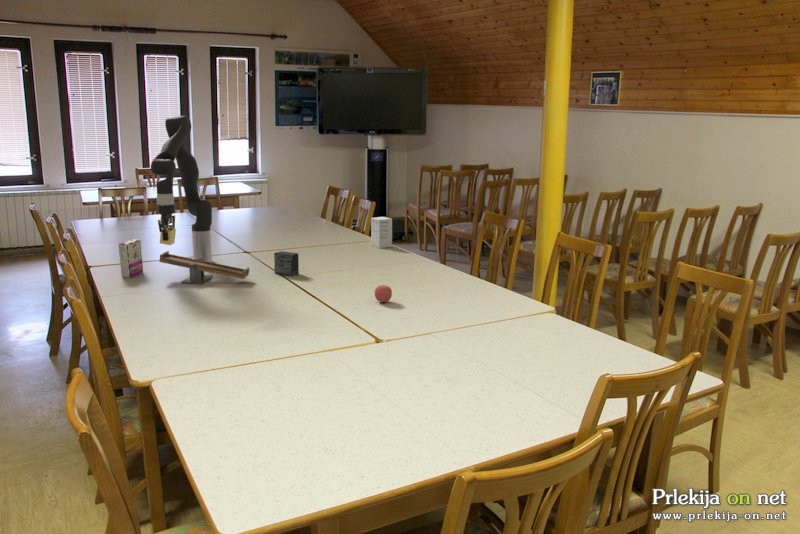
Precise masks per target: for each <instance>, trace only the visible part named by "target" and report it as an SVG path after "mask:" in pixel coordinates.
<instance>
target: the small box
mask: <svg viewBox="0 0 800 534" xmlns="http://www.w3.org/2000/svg"><path fill="white" fill-rule="evenodd" d="M273 255H274V257H273V258H274V274H275V275H282V276H289V277H294V276H295V275H296V276H297V275H298V274H300V272H299V252H298V253H297V252H290V251H281V250H280V251H277V252H274V253H273Z"/></svg>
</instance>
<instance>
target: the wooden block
mask: <svg viewBox="0 0 800 534" xmlns="http://www.w3.org/2000/svg"><path fill="white" fill-rule="evenodd" d="M161 229H162V228H161ZM165 229H166V228H165ZM176 232H177V228H170V227H169V228H168V232H167V233H168V241H163V235H162V232H160V235H159V244H162V245H167V246H172V245H173V244H174V245H175V242H176V241H175V240H176Z"/></svg>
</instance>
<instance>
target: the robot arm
mask: <svg viewBox="0 0 800 534" xmlns="http://www.w3.org/2000/svg"><path fill="white" fill-rule="evenodd" d="M164 122H165V123H164V124H165V130H166V133H167V136H168V139H167V140H166V141H165V143H164V144H163V145H162V148H161V149H160V152H159V153H158V154H157V155H156V156H155V157H154V158H153V159H152V161H151V164H150V170H151V172H152V174H154V175H158V176H166V178H164V179H159V180H157V181H156V208H157V214H158V215H160V219H158V220H157V223H158V229H159V230H158V231H159V233H161V232H162V235H163V241H168V233H167V232H168V228H169V227H170V228H175V226H176V215H174V214H175V212H176V208H175V197H174V187H173V186H174V185H173V184H174V177H175V174H176V168H177V169H178V173H179V176H180V178H181V183H182V187H183V191H184V196H185V203H186V207H187V211H188V213H189V214H190V215H192V216H193V217H195V223H193V224H191V235H192V236H191V239H192V255H193V256H192V259H196V260H198V259H203V261H206V262H211V263H213V254H212V251H213V250H212V235H211V232H212V231H211V227H212V223H213V211H212V210H213V207H212V204H211V202H210V201H209V200H207V199H203V198H201V196H200V193H199V190H198V183H199V178H200V177H199V176H200V171H199V168H198V167H199V166H198V163H197V159H196V158H195V157H194V155H193V154H192V153H191V152H190V151H189V150H188V149H187V148H186V147H185V146H184V145H183V143H185V141H186V139H187V138H188V137H189V136H190V134H191V130H192V123H191V120H190V118H189V116H187V115H179V116H178V115H177V116H169V117H167V118H166V119H165V121H164ZM175 160H176V163H175ZM176 164H177V165H176ZM176 166H177V167H176ZM161 228H162V229H161ZM165 228H166V229H165ZM175 229H176V228H175Z"/></svg>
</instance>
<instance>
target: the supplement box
mask: <svg viewBox="0 0 800 534" xmlns="http://www.w3.org/2000/svg"><path fill="white" fill-rule="evenodd" d="M370 223H371V224H370V231H371V233H370V234H371V235H370V246H372V247H375V248H378V249H383V248H384V249H385V248H392V247H393V218H391V217H388V216H387V217H386V216H377V217H371V219H370ZM390 245H391V246H390Z"/></svg>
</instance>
